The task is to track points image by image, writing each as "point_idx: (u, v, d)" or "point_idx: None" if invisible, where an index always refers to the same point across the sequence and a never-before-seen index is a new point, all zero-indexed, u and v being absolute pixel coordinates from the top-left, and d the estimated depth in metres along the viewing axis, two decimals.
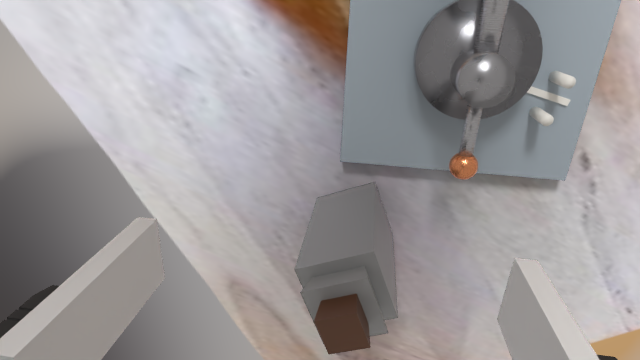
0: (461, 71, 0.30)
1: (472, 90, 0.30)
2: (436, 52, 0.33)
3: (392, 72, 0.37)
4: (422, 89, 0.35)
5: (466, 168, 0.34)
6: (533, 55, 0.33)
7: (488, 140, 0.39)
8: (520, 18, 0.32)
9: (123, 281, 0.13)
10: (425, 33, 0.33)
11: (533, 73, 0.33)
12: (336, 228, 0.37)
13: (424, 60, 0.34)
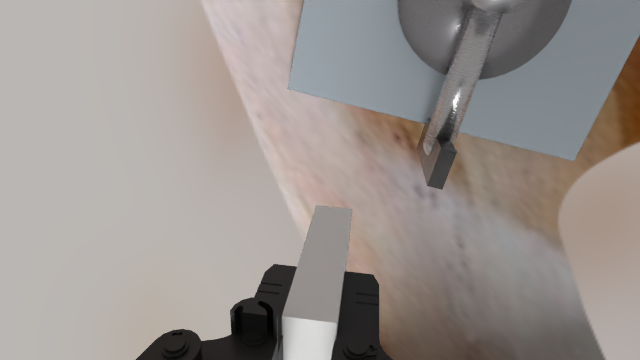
0: None
1: None
2: (536, 17, 0.24)
3: None
4: None
5: None
6: None
7: None
8: (422, 41, 0.25)
9: None
10: (543, 45, 0.25)
11: None
12: None
13: (556, 7, 0.24)
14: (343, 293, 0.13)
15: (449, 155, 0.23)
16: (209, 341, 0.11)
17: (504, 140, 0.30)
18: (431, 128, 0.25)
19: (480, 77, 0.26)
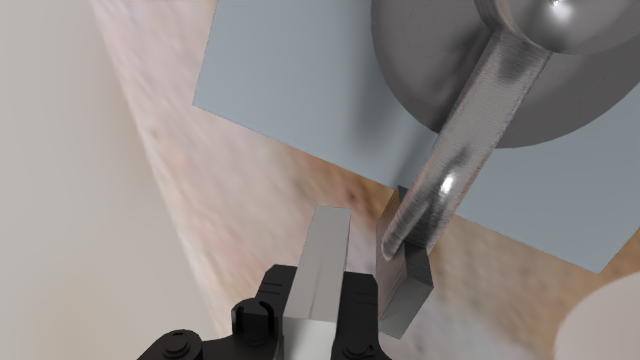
0: None
1: None
2: (601, 62, 0.14)
3: None
4: None
5: None
6: None
7: None
8: (404, 72, 0.15)
9: None
10: (602, 111, 0.15)
11: None
12: None
13: (637, 51, 0.14)
14: (342, 293, 0.13)
15: (420, 289, 0.13)
16: (210, 341, 0.11)
17: (504, 230, 0.20)
18: (398, 222, 0.15)
19: None
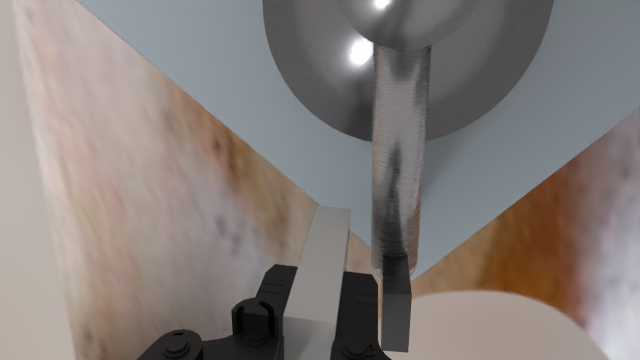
0: None
1: None
2: (501, 21, 0.14)
3: (524, 78, 0.17)
4: None
5: None
6: (283, 33, 0.15)
7: None
8: (329, 104, 0.16)
9: None
10: (527, 62, 0.14)
11: None
12: None
13: None
14: (342, 293, 0.13)
15: (400, 301, 0.13)
16: (210, 341, 0.11)
17: None
18: (373, 240, 0.15)
19: (437, 134, 0.16)
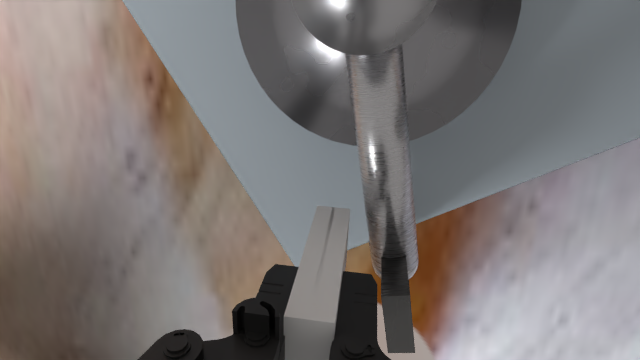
0: None
1: None
2: (472, 12, 0.14)
3: None
4: None
5: None
6: (261, 50, 0.15)
7: None
8: (314, 114, 0.16)
9: None
10: (505, 50, 0.14)
11: (244, 12, 0.15)
12: None
13: None
14: (341, 293, 0.13)
15: (400, 302, 0.13)
16: (211, 341, 0.11)
17: (250, 190, 0.21)
18: (371, 243, 0.15)
19: (424, 132, 0.16)
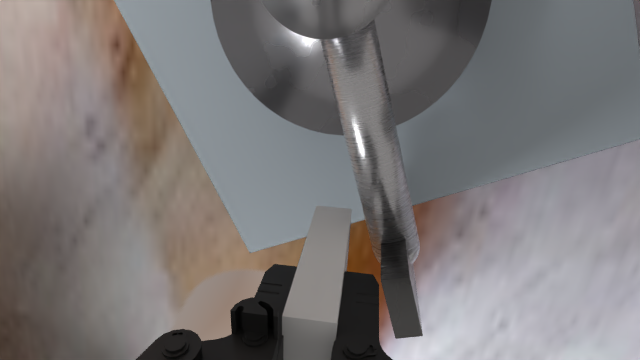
0: None
1: None
2: None
3: None
4: None
5: None
6: (241, 50, 0.15)
7: None
8: (301, 108, 0.16)
9: None
10: (483, 21, 0.14)
11: (221, 14, 0.15)
12: None
13: None
14: (343, 293, 0.13)
15: (401, 284, 0.13)
16: (209, 341, 0.11)
17: (209, 169, 0.21)
18: (369, 231, 0.15)
19: (412, 114, 0.16)
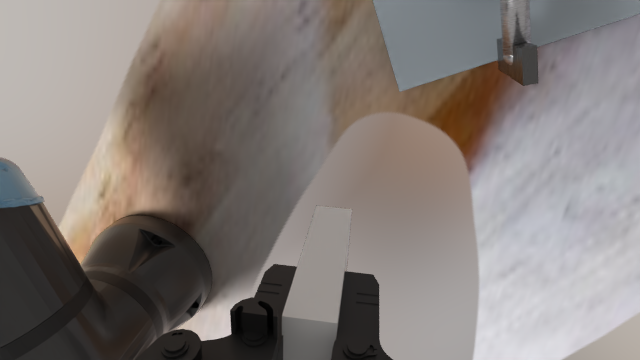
0: None
1: None
2: None
3: None
4: None
5: None
6: None
7: None
8: None
9: None
10: None
11: None
12: None
13: None
14: (343, 293, 0.13)
15: (531, 50, 0.26)
16: (209, 341, 0.11)
17: (384, 31, 0.34)
18: (505, 40, 0.28)
19: None
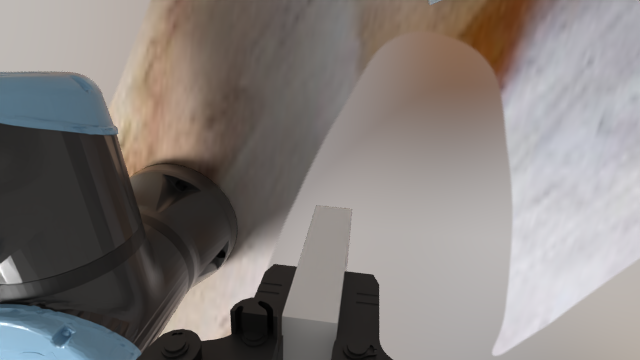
0: None
1: None
2: None
3: None
4: None
5: None
6: None
7: None
8: None
9: None
10: None
11: None
12: None
13: None
14: (343, 293, 0.13)
15: None
16: (209, 341, 0.11)
17: None
18: None
19: None
